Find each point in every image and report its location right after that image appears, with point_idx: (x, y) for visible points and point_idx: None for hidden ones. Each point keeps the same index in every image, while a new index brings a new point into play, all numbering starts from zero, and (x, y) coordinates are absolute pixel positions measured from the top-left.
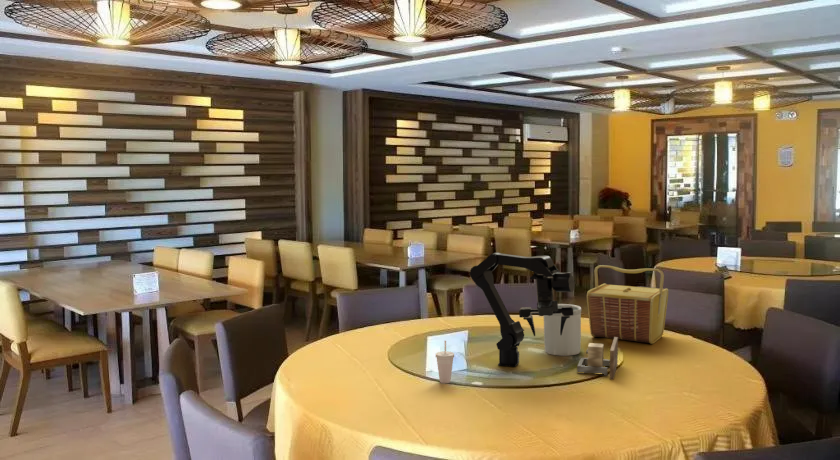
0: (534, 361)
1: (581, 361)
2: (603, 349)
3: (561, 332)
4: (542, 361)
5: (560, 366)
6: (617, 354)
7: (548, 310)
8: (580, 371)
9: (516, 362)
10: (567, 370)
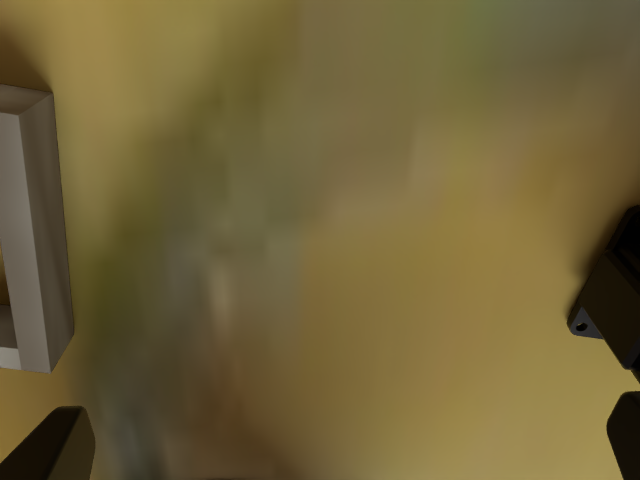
0: (431, 363)
1: (18, 271)
2: None
3: (26, 455)
4: (370, 368)
5: (228, 268)
6: None
7: None
8: (11, 91)
9: (622, 256)
10: (157, 164)
